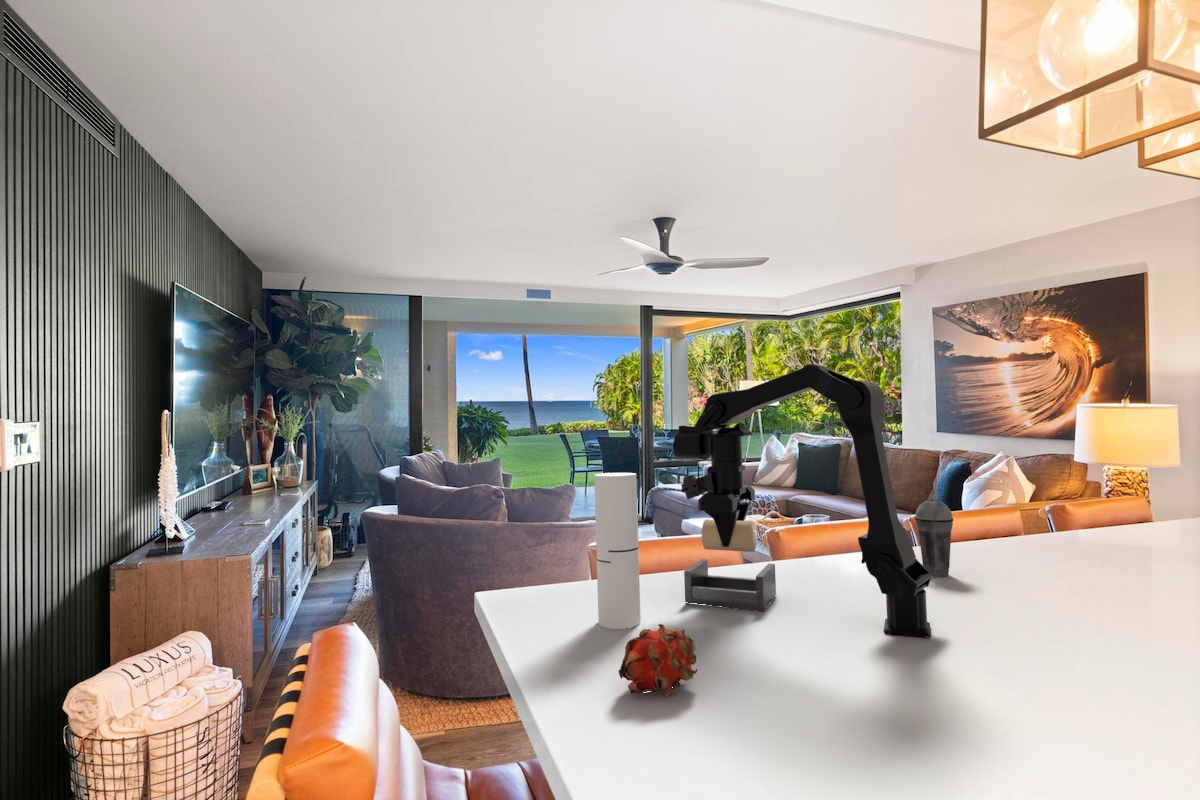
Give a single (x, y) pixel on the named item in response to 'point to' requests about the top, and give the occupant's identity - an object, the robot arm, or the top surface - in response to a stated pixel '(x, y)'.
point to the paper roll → (740, 540)
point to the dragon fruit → (658, 660)
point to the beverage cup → (935, 535)
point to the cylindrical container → (617, 550)
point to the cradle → (729, 588)
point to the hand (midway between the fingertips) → (729, 543)
